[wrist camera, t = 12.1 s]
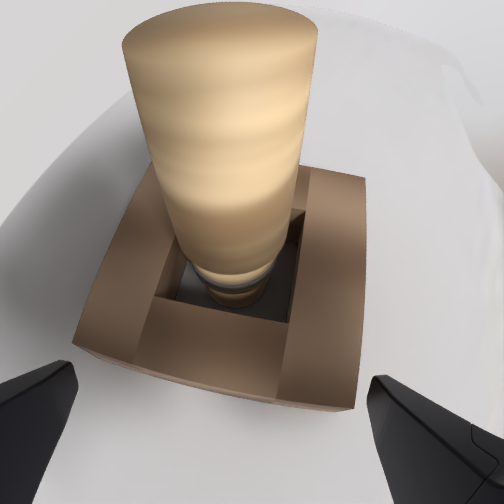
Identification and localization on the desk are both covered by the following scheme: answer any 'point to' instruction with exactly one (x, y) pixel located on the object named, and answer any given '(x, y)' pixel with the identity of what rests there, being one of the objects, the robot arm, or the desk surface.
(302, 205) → the walnut square frame
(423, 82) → the desk surface
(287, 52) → the tan tall cylinder
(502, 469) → the robot arm
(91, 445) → the desk surface
